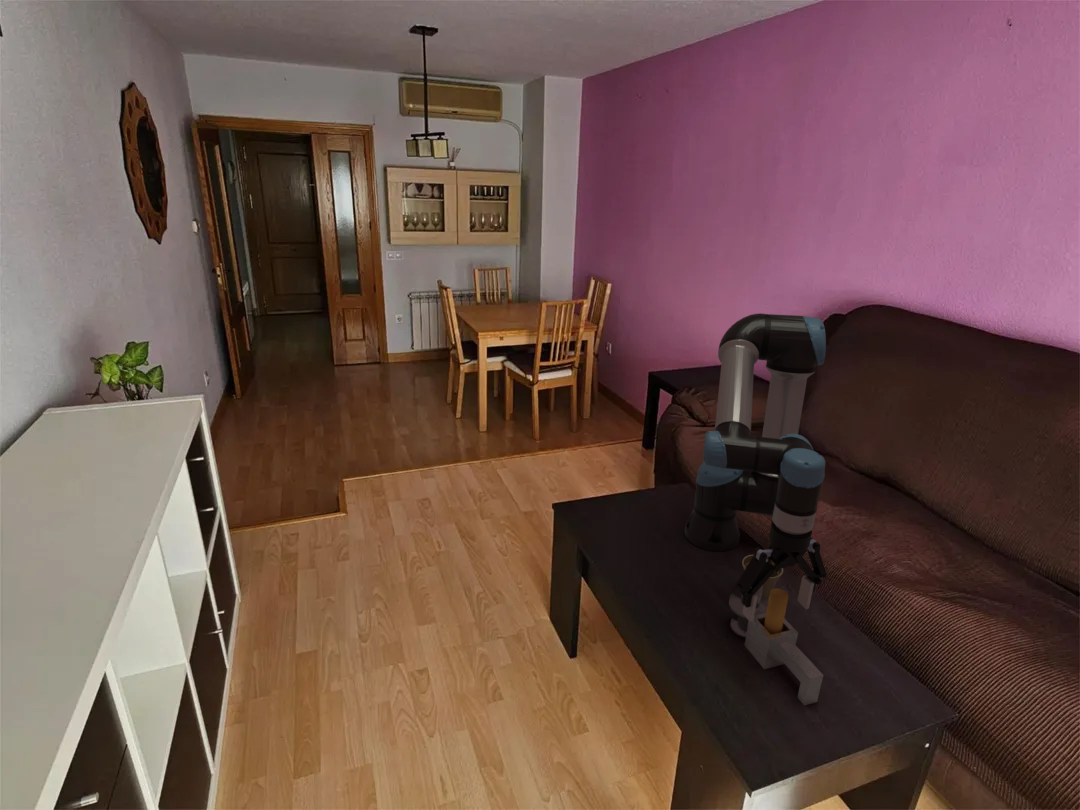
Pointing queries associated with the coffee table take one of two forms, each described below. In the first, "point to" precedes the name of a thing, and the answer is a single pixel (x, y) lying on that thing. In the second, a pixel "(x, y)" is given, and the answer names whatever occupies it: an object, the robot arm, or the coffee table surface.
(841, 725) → the coffee table surface
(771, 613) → the tapered pin
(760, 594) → the rosette bracket
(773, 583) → the flower pot
